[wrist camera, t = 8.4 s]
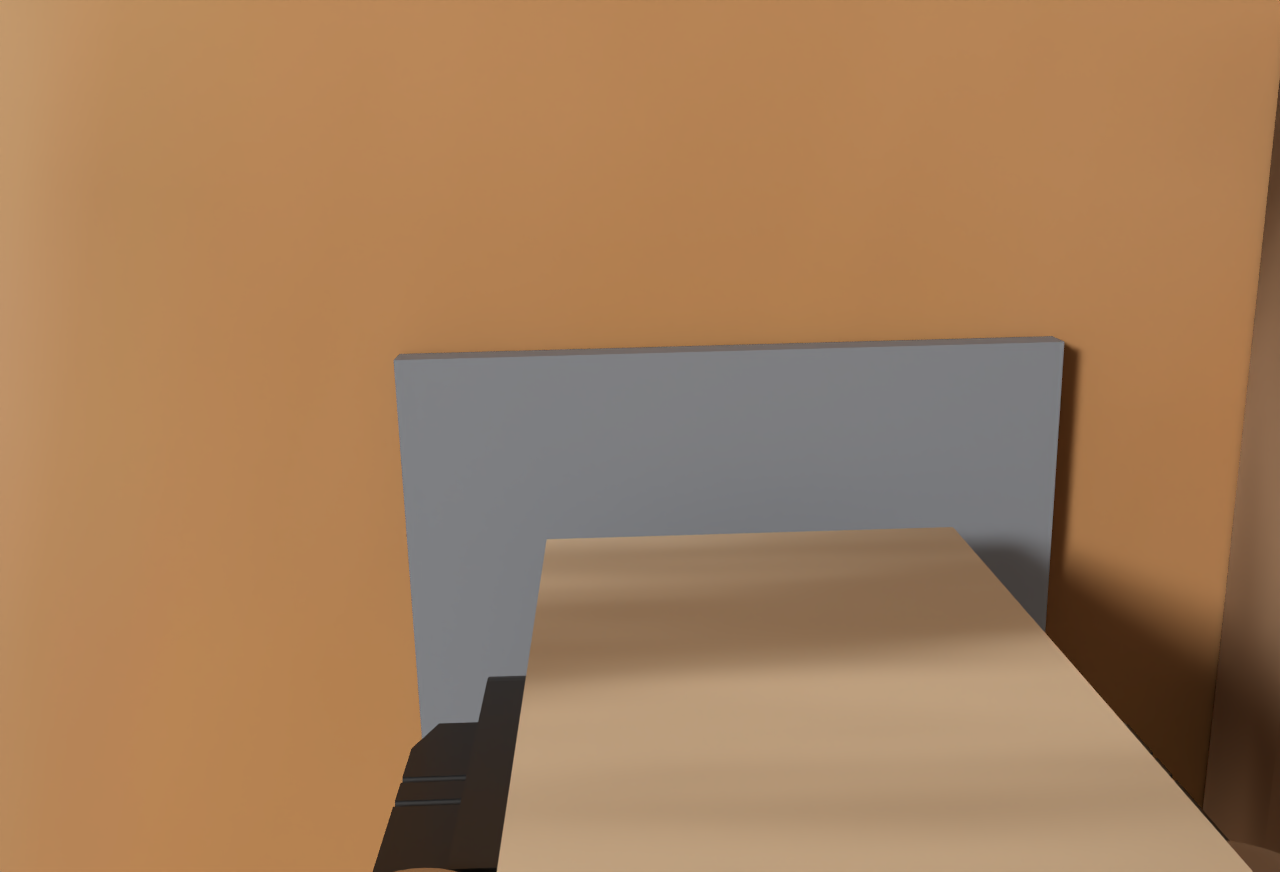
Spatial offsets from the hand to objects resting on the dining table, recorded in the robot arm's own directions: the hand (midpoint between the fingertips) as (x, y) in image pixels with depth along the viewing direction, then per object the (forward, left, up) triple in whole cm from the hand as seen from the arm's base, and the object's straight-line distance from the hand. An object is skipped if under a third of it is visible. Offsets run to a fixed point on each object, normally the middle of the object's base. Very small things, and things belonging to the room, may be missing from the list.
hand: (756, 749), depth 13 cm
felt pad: (0, 0, -3) cm, 3 cm away
